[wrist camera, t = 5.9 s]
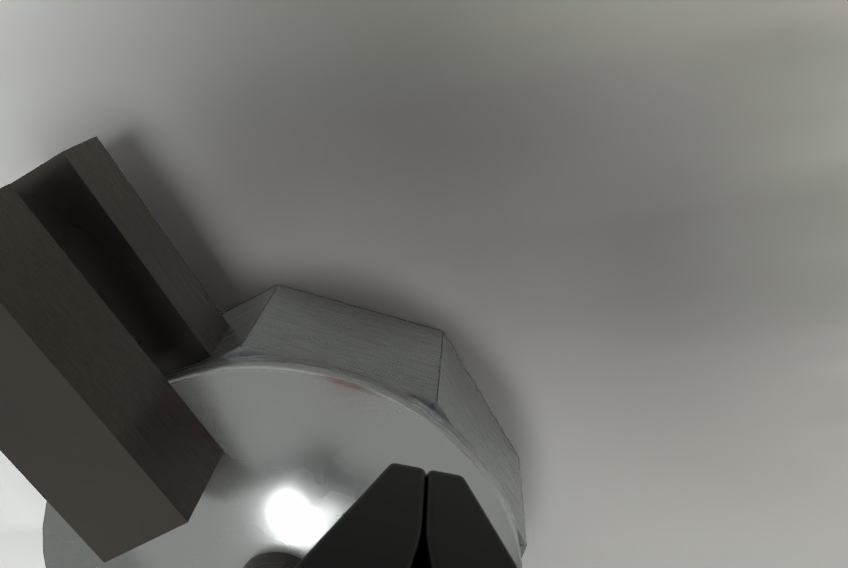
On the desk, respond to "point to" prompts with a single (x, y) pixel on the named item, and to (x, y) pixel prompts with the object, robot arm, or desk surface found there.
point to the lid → (191, 433)
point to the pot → (243, 307)
